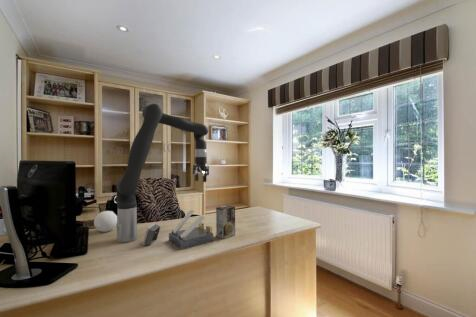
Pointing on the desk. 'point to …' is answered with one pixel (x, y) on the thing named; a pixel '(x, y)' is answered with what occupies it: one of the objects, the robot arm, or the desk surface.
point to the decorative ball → (105, 221)
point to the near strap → (191, 227)
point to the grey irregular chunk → (151, 234)
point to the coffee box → (225, 221)
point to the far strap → (183, 221)
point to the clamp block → (192, 237)
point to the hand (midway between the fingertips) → (200, 181)
